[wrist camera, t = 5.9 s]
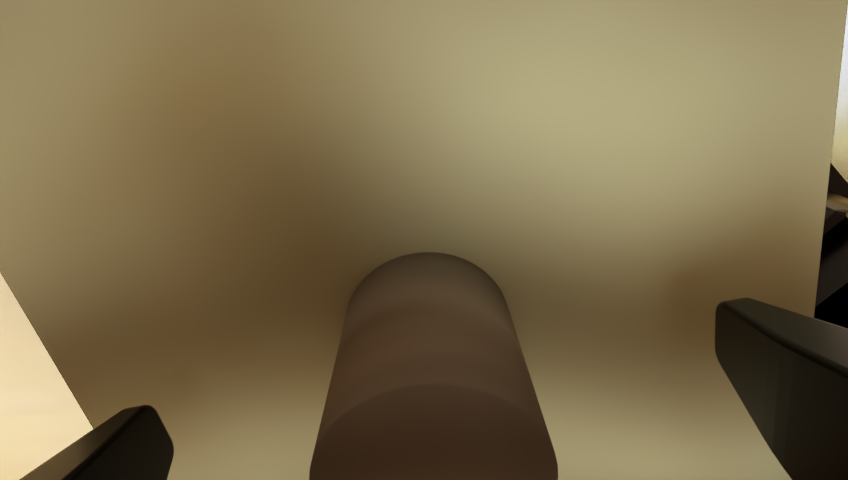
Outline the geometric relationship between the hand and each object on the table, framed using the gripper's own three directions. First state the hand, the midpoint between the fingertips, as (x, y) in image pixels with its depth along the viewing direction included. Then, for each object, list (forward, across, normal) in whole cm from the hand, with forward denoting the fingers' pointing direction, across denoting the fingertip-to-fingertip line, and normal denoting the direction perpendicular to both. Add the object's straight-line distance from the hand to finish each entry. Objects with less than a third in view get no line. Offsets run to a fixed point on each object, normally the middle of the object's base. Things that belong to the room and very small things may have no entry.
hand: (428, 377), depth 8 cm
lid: (+2, 0, 0) cm, 2 cm away
